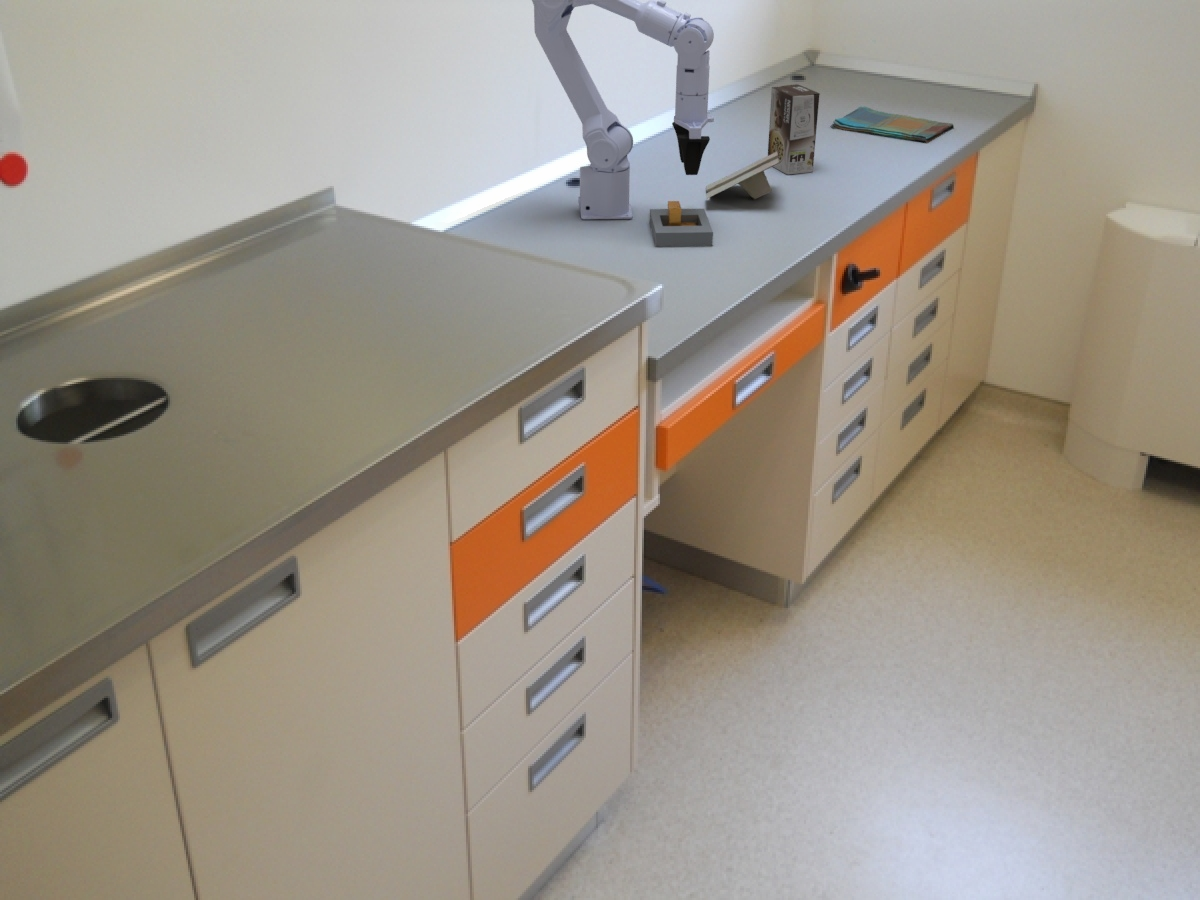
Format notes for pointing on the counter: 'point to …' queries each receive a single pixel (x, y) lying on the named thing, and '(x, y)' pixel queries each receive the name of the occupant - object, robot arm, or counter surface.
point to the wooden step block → (676, 215)
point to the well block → (681, 229)
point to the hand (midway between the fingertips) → (689, 168)
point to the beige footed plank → (747, 178)
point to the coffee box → (793, 127)
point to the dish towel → (891, 125)
